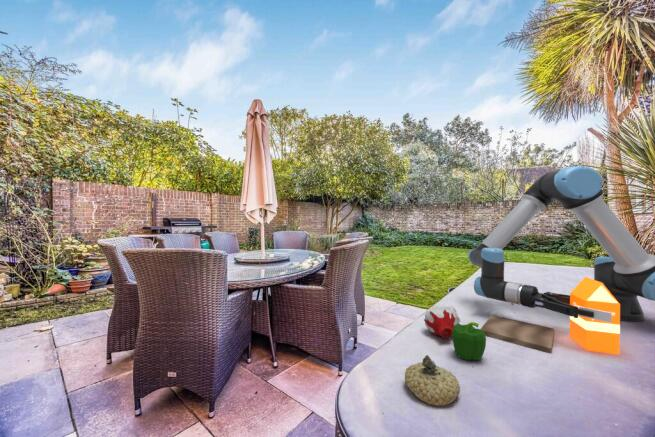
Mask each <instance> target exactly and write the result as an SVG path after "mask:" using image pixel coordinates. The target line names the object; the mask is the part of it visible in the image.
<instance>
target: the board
mask: <svg viewBox="0 0 655 437" xmlns="http://www.w3.org/2000/svg"><path fill="white" fill-rule="evenodd" d="M480 329H481V330H484V332H485V335H486V337H490V338H494V339H497V340H499V341H505V342H507V343H511V344H516V345H519V346H523V347H526V348H529V349H533V350H535V351H536V350H537V351H541V352H544V353H547V354H552V350H553V342H554V336H555V328H553V327H548V326H545V325H540V324H536V323H530V322H528V321H527V322H526V321H522V320H518V319H512V318H508V317H505V316H500V315H495V314H491V315H490V317H488V319H486V321H485V323H484V324H483V325H482V326H481V328H480Z"/></svg>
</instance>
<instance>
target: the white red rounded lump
mask: <svg viewBox="0 0 655 437" xmlns="http://www.w3.org/2000/svg"><path fill="white" fill-rule="evenodd" d="M423 321H424V324H425V327H426V328H427V329H428V331H429V333H431V334H433V335H435V336H441V338H443V339H448V338H450V337H452V331H453V328H454V326H455V325H456V324H460V322H461V318H460V316H458V313H457V310H456V308H455V307H454V306H453V305H451V304H450V305H443V304H442V305H441V304H438V305H434V306H433V307H431V308H429V309H428V310H426V311H425V313H424V318H423Z"/></svg>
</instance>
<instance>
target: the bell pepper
mask: <svg viewBox="0 0 655 437" xmlns="http://www.w3.org/2000/svg"><path fill="white" fill-rule="evenodd" d="M479 325H480V323H478V322H473V321H472V322H468V323H467V324H456V325H455V326H454V328H453V331H452V336H451V337H452V344H453V348H454V352H455V354H456V356H458V357H459V358H460V359H463V360H464V361H465V360H466V361H470V360H472V361H479V360H480V359H481V358H483V355H484V353H485V349H486V347H487V346H486V345H487V338H486V337H487V336H486V335H485V332H484V330H481V328H478V327H479Z"/></svg>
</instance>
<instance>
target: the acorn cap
mask: <svg viewBox="0 0 655 437" xmlns="http://www.w3.org/2000/svg"><path fill="white" fill-rule="evenodd" d="M404 382H405V384H406V386H407V387H408V389H409V390H410V391H411V392H412V393H413V394H414V395H415V397H417V398H418V399H419V400H421V401H422V402H425V403H426V404H428V405H430V406H431V405H432V406H435V407H436V406H437V407H442V406H444V407H445V406H446V405H449V404H452V403H453V402H454V401H455V400H456V399H457V397H458V396H459V394H460V392H461V386H460V384H459V381H458V378H457V377H456V376H455V375H454V374H453V373H452V372H451V371H449V370H448V369H445V368H443V367H442V366H439V365H436V363H435V361H434V360H432V358H431V357H430V356H429V355H428V354H427V355H425V356H424V358H422V361H421V362H420V361H419V362H417V363H414V364H411V365H410V366H408V367H407V368H406V369H405V373H404Z"/></svg>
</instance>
